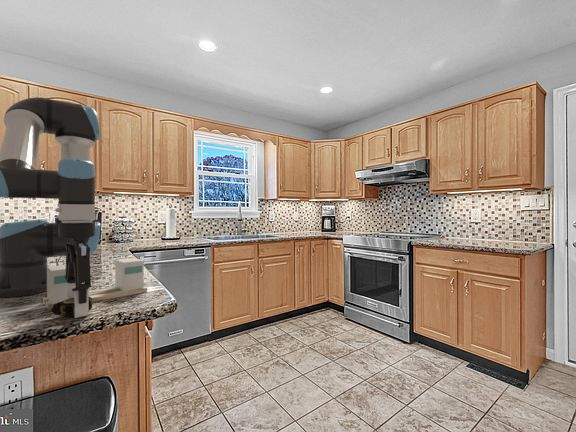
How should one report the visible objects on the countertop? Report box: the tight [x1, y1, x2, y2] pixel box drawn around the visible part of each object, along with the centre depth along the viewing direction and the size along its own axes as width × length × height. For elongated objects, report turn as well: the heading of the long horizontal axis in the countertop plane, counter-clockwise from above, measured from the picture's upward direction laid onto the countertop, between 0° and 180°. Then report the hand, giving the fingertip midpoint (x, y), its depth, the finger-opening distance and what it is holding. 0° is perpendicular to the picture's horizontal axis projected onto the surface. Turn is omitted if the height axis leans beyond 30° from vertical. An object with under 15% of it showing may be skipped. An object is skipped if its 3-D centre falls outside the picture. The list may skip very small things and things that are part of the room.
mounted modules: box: [46, 257, 145, 304], centre depth 89 cm, size 8×24×9 cm, turn 137°
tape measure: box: [51, 297, 93, 317], centre depth 73 cm, size 7×7×4 cm
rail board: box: [42, 285, 148, 311], centre depth 89 cm, size 10×25×2 cm, turn 136°
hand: (77, 311), depth 74 cm, fingers closed on tape measure, 8 cm apart
